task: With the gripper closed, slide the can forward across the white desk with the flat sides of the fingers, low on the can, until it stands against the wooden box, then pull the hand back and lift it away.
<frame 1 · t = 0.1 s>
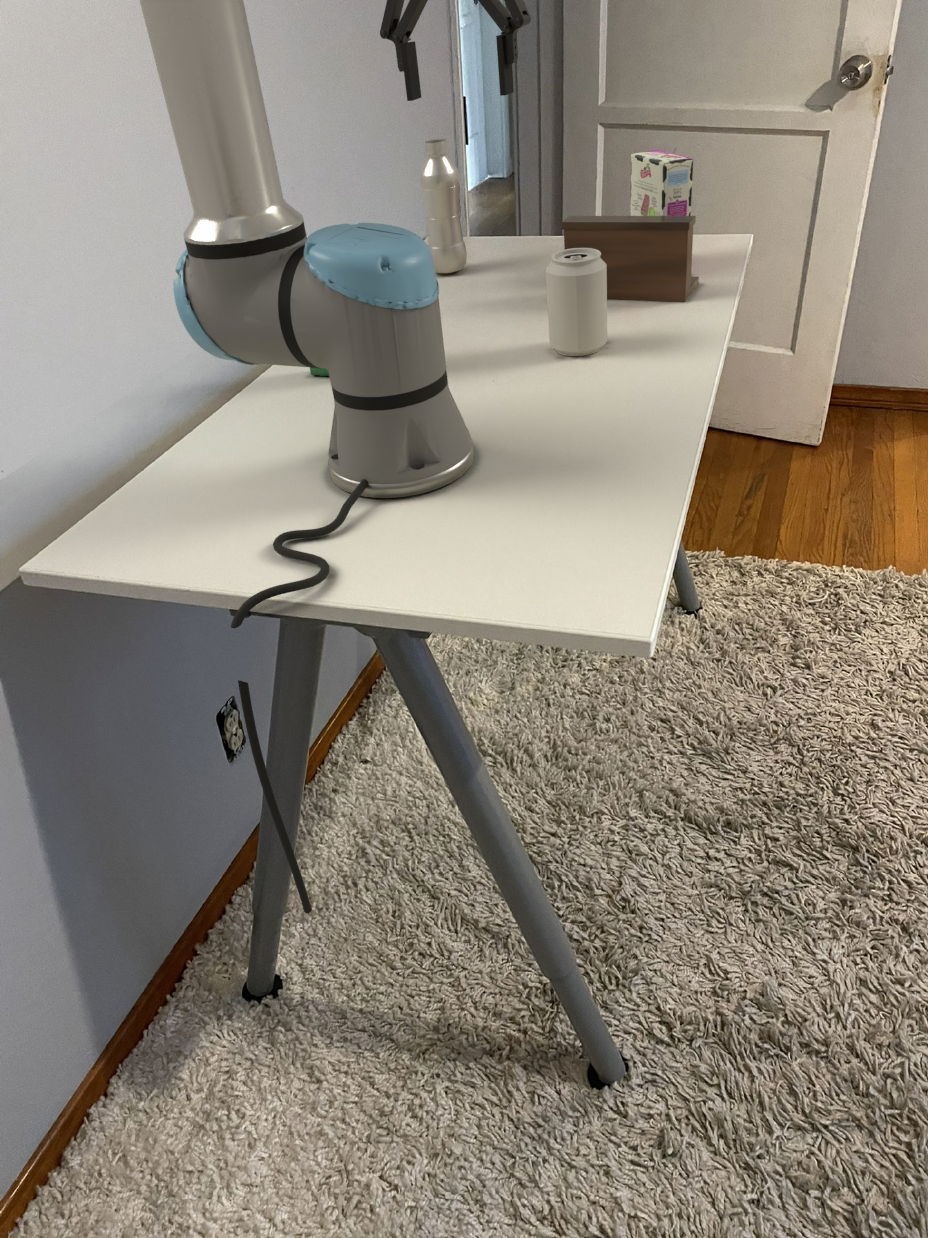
hand: (459, 96, 121), 28 cm above the table, tool pointing down, fingers open, 13 cm apart
wooden box: (627, 296, 135), on the table
can: (578, 349, 120), on the table
coffee box: (342, 375, 121), on the table
candy bar box: (658, 270, 144), on the table
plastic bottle: (449, 272, 155), on the table
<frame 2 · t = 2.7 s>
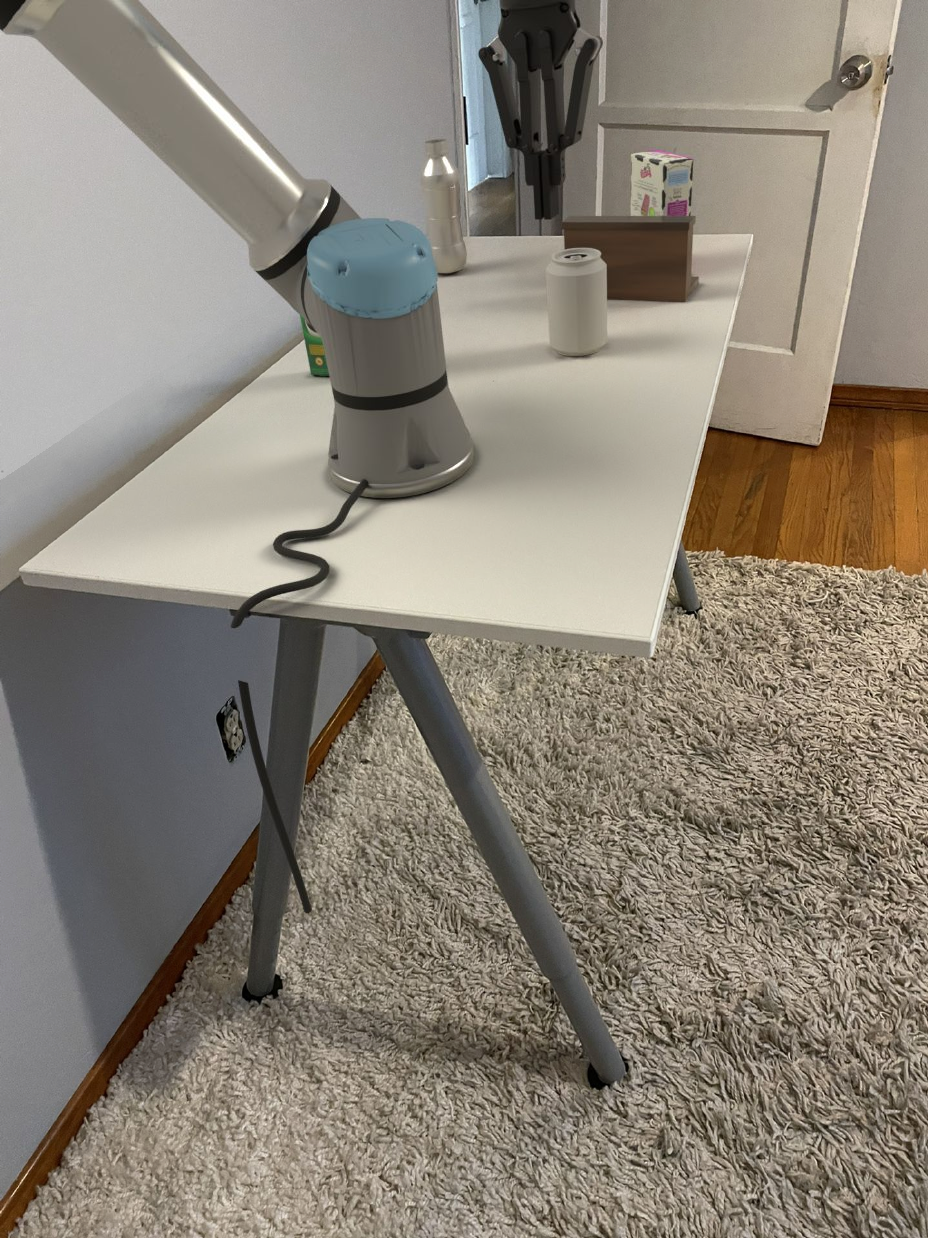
hand: (547, 216, 103), 18 cm above the table, tool pointing down, fingers closed
nothing on the table moved.
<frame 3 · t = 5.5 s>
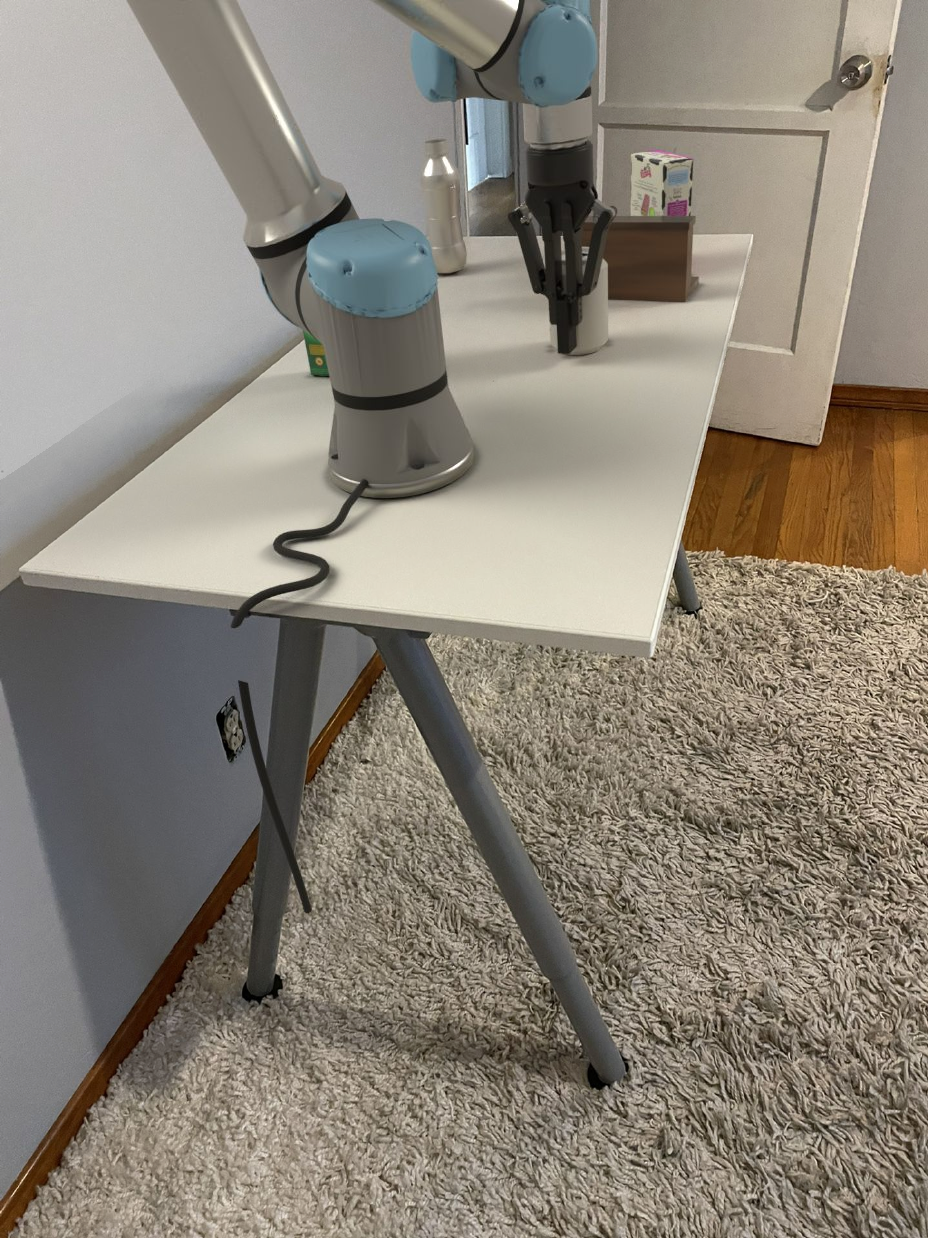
hand: (567, 349, 115), 2 cm above the table, tool pointing down, fingers closed
can: (579, 348, 120), on the table, touching gripper
everything else where it was.
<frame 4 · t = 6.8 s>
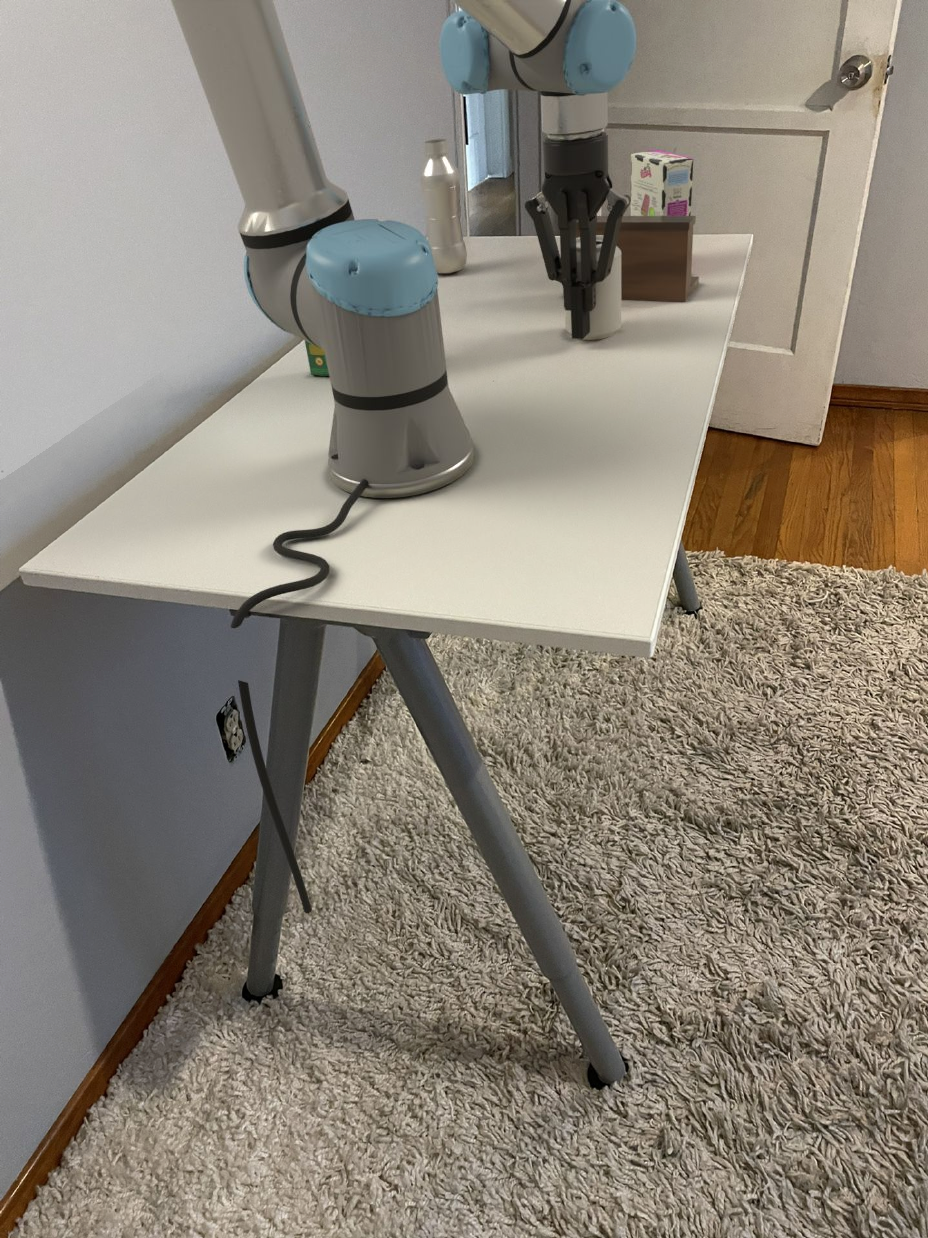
hand: (580, 334, 119), 2 cm above the table, tool pointing down, fingers closed
can: (593, 333, 124), on the table, touching gripper
everything else where it was.
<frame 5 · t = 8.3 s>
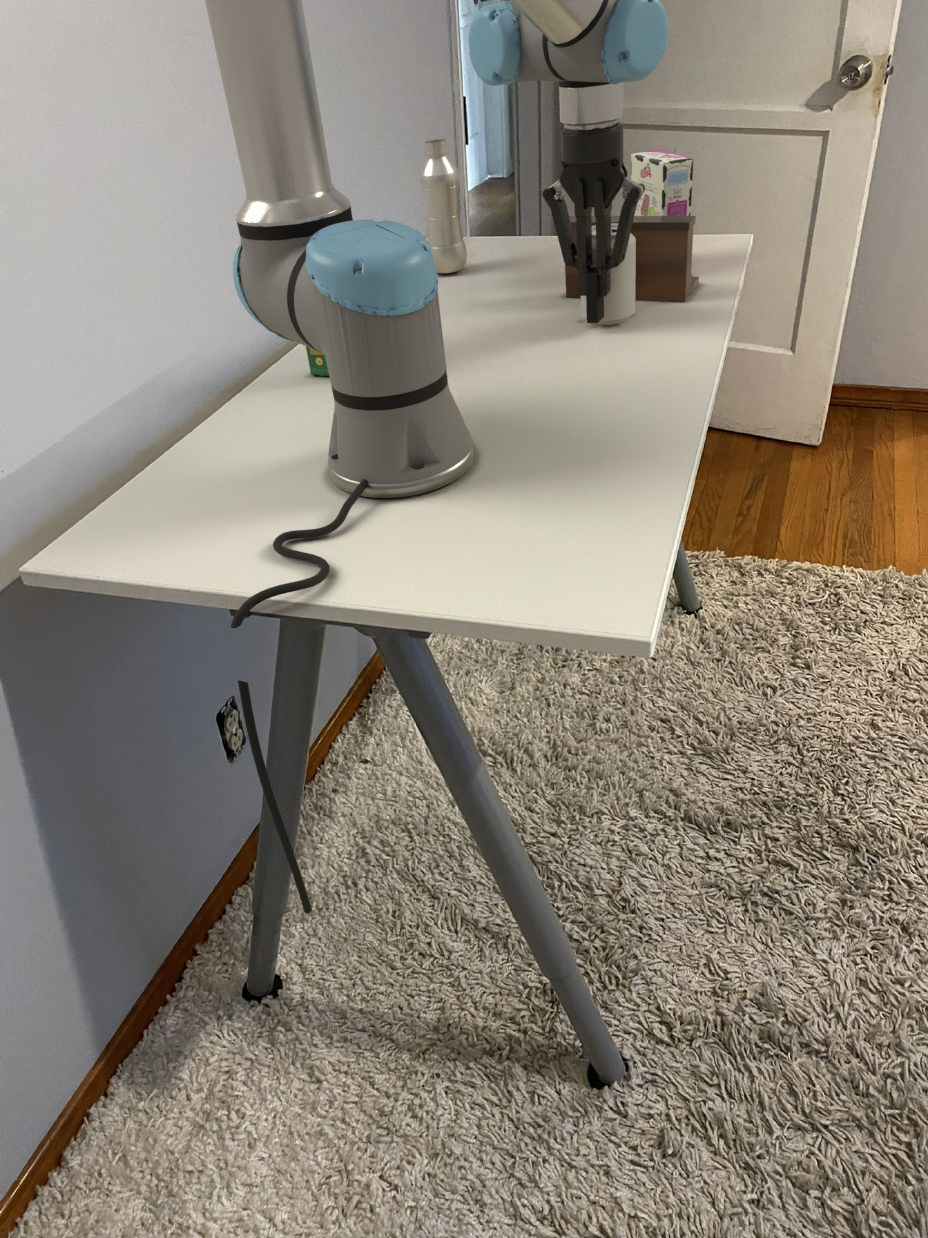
hand: (595, 319, 124), 2 cm above the table, tool pointing down, fingers closed
can: (608, 319, 128), on the table, touching gripper
everything else where it was.
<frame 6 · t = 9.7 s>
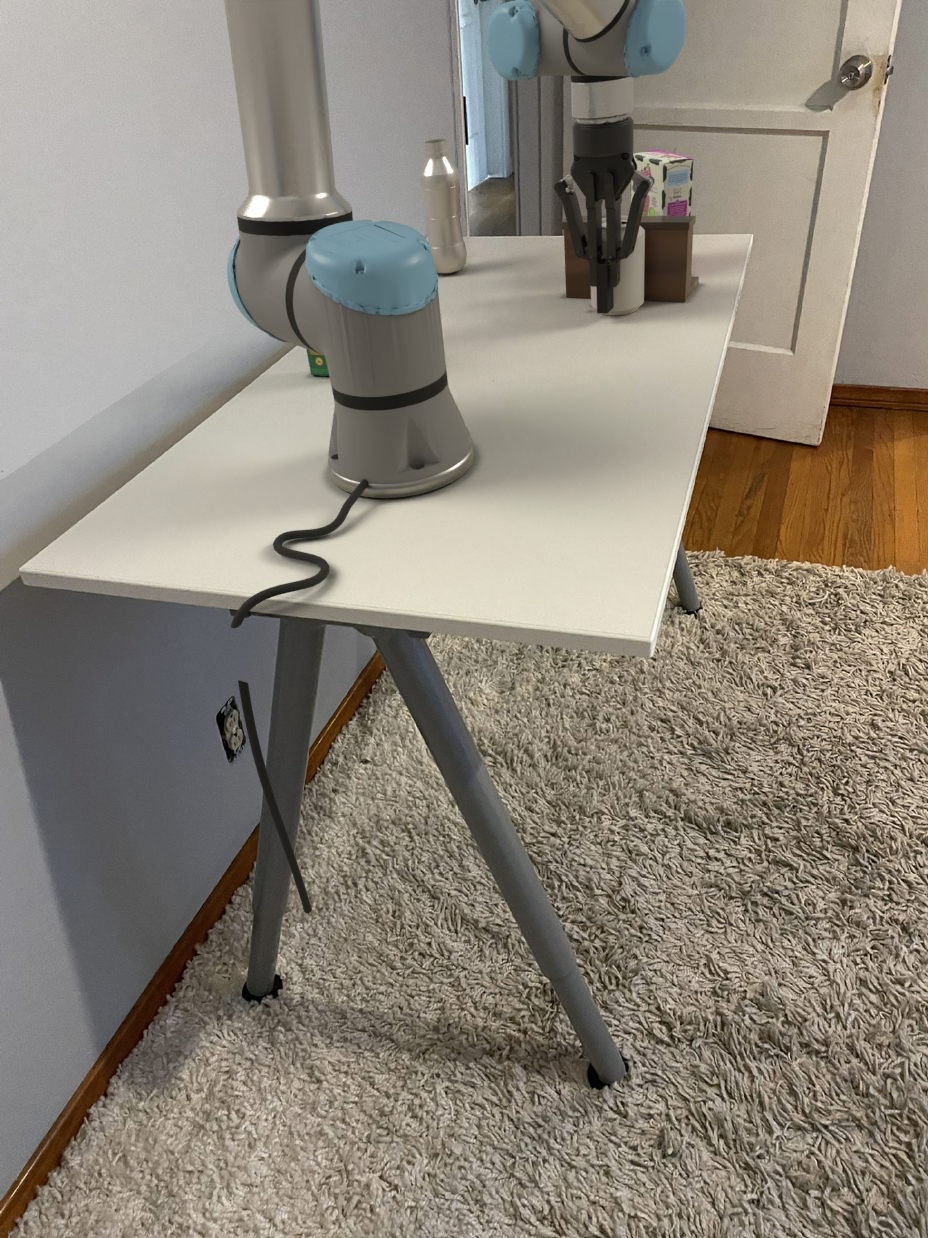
hand: (605, 309, 126), 1 cm above the table, tool pointing down, fingers closed
can: (617, 309, 131), on the table, touching wooden box, gripper
everything else where it was.
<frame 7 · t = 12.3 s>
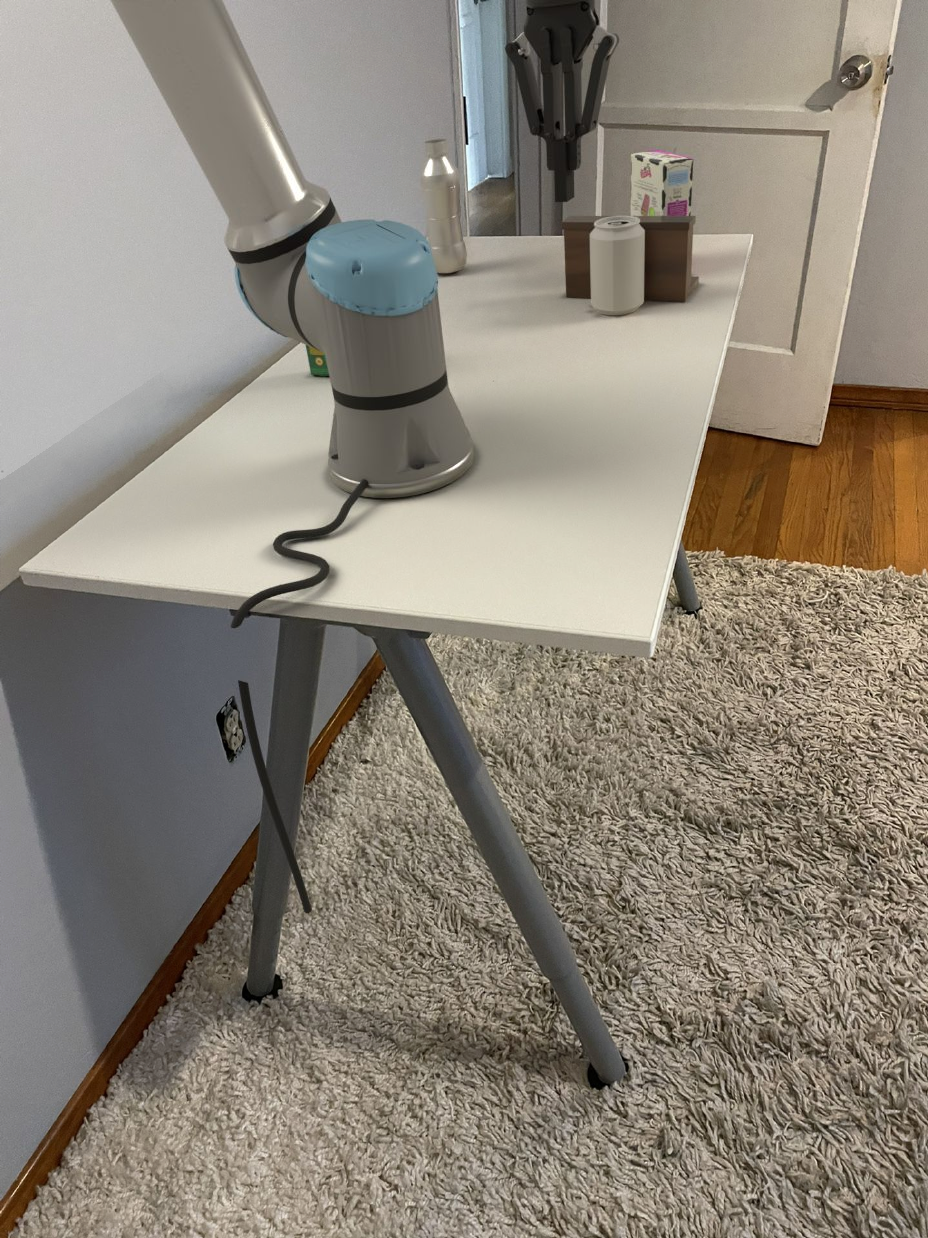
hand: (564, 199, 111), 18 cm above the table, tool pointing down, fingers closed
can: (617, 309, 131), on the table, touching wooden box
everything else where it was.
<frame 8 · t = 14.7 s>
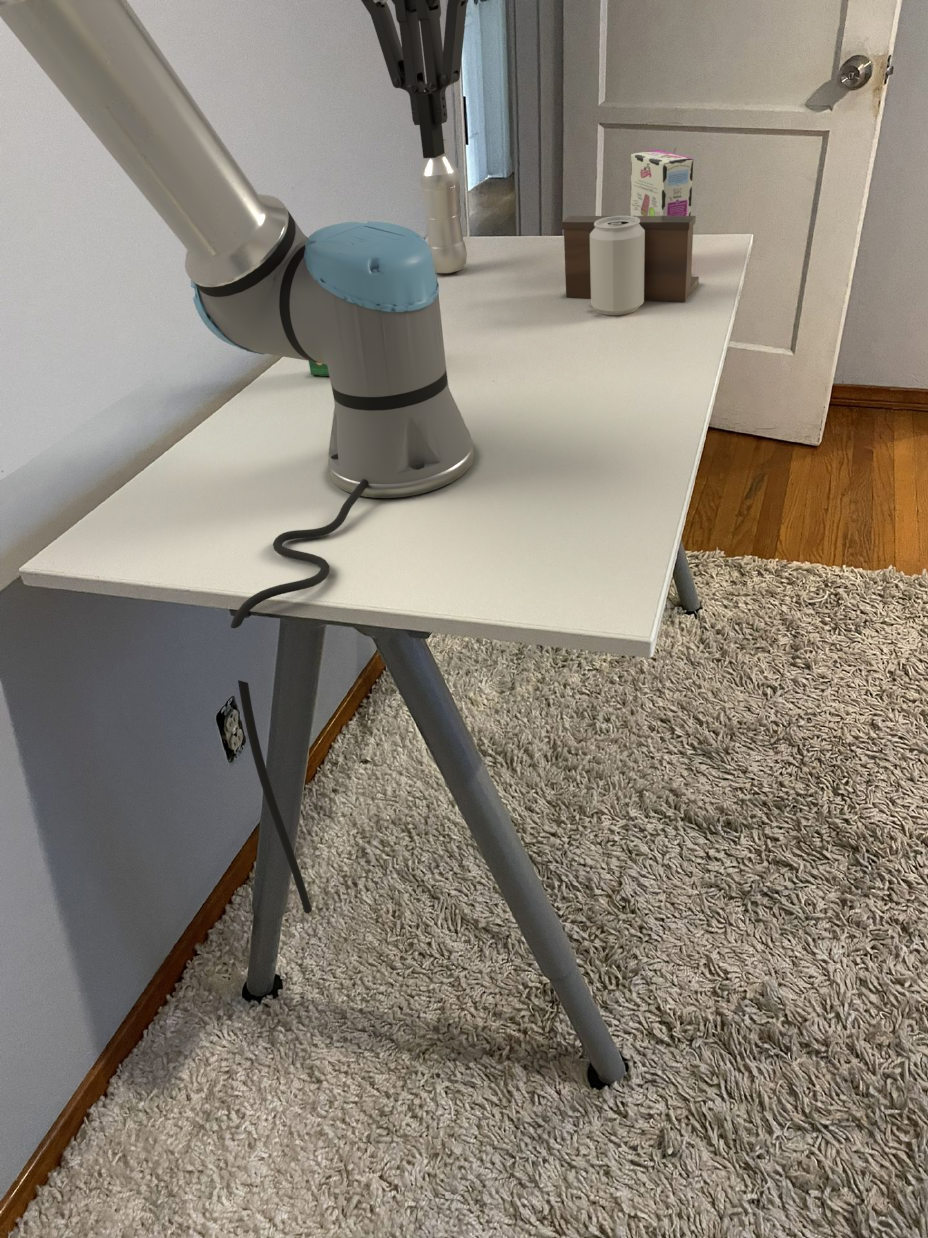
hand: (434, 155, 107), 24 cm above the table, tool pointing down, fingers closed
nothing on the table moved.
at the end: can 0.3 cm from the target spot, on the table; can tilted 0° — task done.
